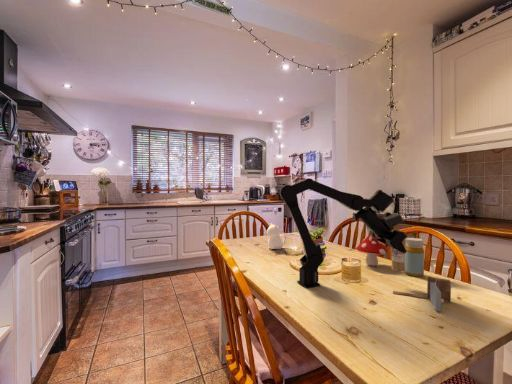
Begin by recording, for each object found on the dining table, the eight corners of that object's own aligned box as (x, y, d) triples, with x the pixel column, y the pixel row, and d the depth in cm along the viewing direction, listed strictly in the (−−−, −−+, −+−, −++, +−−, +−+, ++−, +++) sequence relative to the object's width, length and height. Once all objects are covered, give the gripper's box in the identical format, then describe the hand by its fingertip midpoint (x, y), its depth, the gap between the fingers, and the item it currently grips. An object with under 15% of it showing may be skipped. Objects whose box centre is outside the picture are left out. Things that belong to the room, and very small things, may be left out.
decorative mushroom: (395, 269, 113) (396, 236, 113) (367, 271, 111) (367, 237, 111) (376, 260, 127) (376, 230, 127) (350, 261, 125) (350, 231, 125)
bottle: (422, 272, 109) (422, 238, 108) (425, 278, 103) (425, 241, 102) (403, 270, 112) (403, 236, 111) (405, 275, 105) (405, 239, 105)
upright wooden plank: (448, 300, 83) (449, 279, 83) (450, 302, 81) (451, 281, 81) (392, 291, 90) (393, 272, 90) (393, 293, 88) (393, 274, 88)
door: (430, 298, 83) (430, 282, 83) (437, 300, 82) (438, 283, 82) (435, 310, 75) (436, 292, 75) (444, 312, 74) (444, 293, 74)
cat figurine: (263, 248, 153) (263, 223, 152) (281, 245, 158) (281, 221, 158) (271, 251, 145) (270, 225, 144) (289, 248, 150) (289, 223, 149)
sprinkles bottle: (390, 270, 94) (390, 234, 94) (392, 267, 98) (393, 232, 98) (404, 272, 91) (404, 235, 91) (406, 269, 95) (407, 233, 95)
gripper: (401, 208, 85) (434, 241, 85) (377, 204, 104) (404, 231, 103) (377, 231, 85) (410, 264, 85) (357, 223, 104) (384, 250, 104)
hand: (402, 250), depth 94 cm, fingers closed on sprinkles bottle, 4 cm apart
